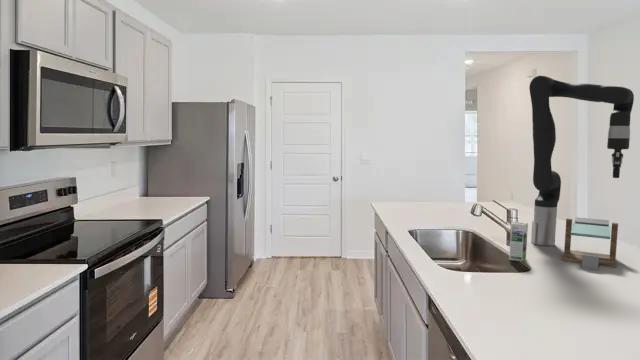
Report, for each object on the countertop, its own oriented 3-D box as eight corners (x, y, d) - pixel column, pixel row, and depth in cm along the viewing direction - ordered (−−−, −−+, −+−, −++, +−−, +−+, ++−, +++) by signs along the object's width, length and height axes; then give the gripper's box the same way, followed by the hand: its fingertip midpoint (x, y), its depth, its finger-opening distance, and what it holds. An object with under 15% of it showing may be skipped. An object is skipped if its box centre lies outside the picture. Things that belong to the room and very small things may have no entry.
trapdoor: (573, 226, 201) (574, 217, 200) (609, 229, 194) (610, 220, 193) (570, 241, 184) (570, 231, 183) (609, 245, 177) (610, 235, 176)
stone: (582, 252, 178) (582, 265, 178) (582, 255, 173) (582, 268, 174) (598, 254, 175) (597, 267, 176) (598, 256, 171) (597, 270, 171)
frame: (565, 251, 201) (567, 217, 199) (615, 257, 191) (617, 221, 190) (561, 260, 184) (564, 223, 183) (616, 267, 175) (618, 229, 174)
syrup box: (508, 260, 183) (510, 223, 182) (510, 257, 189) (512, 221, 187) (524, 262, 181) (527, 224, 179) (526, 258, 186) (528, 222, 185)
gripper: (630, 137, 183) (627, 179, 185) (629, 137, 196) (626, 176, 197) (607, 137, 187) (605, 177, 189) (607, 137, 199) (605, 175, 201)
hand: (615, 177), depth 193 cm, fingers open, 8 cm apart
